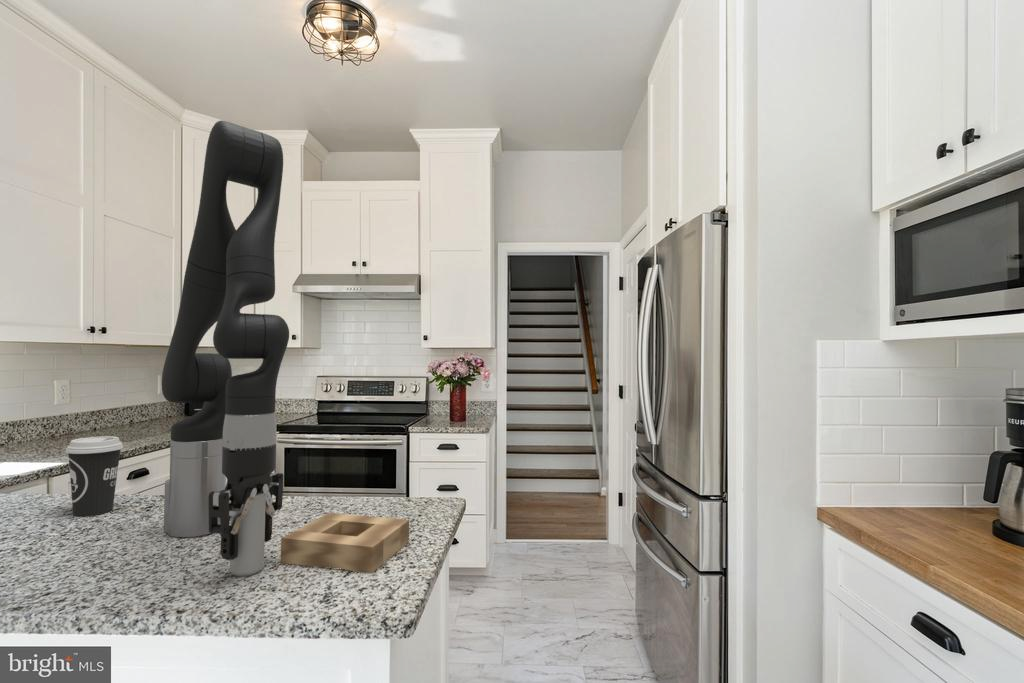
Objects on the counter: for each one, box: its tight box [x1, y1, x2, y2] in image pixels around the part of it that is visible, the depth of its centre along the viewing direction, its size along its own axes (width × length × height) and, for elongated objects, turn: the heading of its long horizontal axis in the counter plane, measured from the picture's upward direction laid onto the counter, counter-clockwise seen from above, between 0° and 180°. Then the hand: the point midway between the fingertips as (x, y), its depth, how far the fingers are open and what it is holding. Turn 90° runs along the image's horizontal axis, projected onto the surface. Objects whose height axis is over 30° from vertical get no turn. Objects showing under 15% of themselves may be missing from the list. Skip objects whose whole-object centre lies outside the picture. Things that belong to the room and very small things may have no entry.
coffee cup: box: [65, 435, 124, 518], centre depth 112 cm, size 10×10×15 cm
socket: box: [280, 512, 410, 574], centre depth 92 cm, size 16×14×4 cm
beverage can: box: [229, 492, 266, 577], centre depth 83 cm, size 5×5×12 cm
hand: (247, 549), depth 83 cm, fingers open, 7 cm apart
